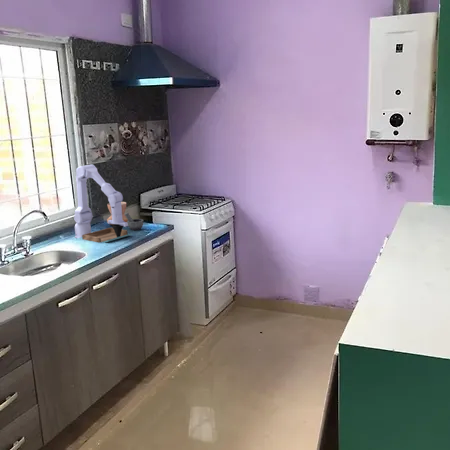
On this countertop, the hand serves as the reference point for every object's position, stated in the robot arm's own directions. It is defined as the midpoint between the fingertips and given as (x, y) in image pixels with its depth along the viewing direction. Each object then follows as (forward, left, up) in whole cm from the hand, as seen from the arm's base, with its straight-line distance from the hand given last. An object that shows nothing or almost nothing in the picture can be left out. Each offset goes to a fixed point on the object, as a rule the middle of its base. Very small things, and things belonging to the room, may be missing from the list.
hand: (118, 237), depth 302 cm
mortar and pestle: (-11, +22, -3) cm, 25 cm away
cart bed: (-12, 0, -3) cm, 12 cm away
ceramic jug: (-35, +30, -3) cm, 46 cm away
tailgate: (-4, 0, -1) cm, 4 cm away
